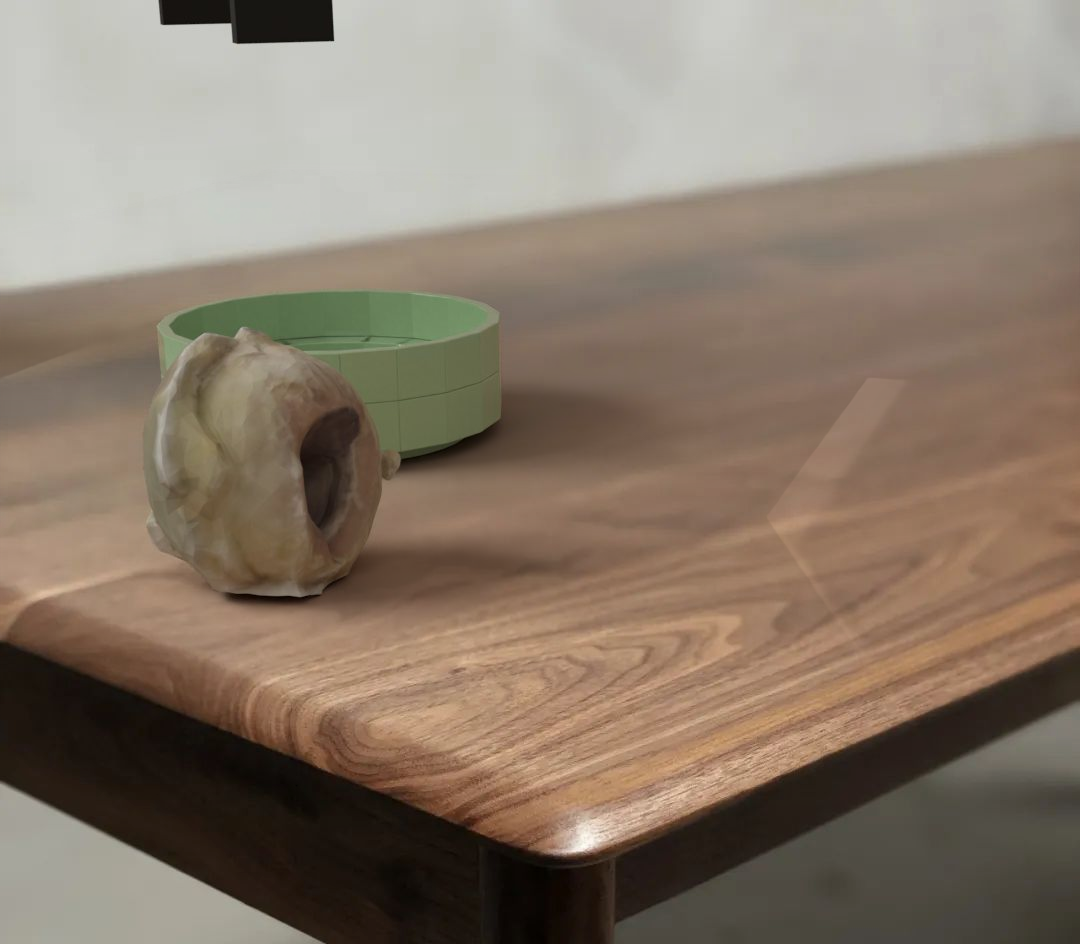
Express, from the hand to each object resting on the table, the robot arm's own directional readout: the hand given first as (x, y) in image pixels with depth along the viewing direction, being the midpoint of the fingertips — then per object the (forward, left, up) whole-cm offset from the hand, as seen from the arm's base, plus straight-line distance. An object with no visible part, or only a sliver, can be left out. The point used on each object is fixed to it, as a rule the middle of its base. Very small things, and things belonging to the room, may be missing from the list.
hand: (238, 33), depth 57 cm
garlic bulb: (-3, +5, -20) cm, 21 cm away
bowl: (-10, +26, -20) cm, 34 cm away
